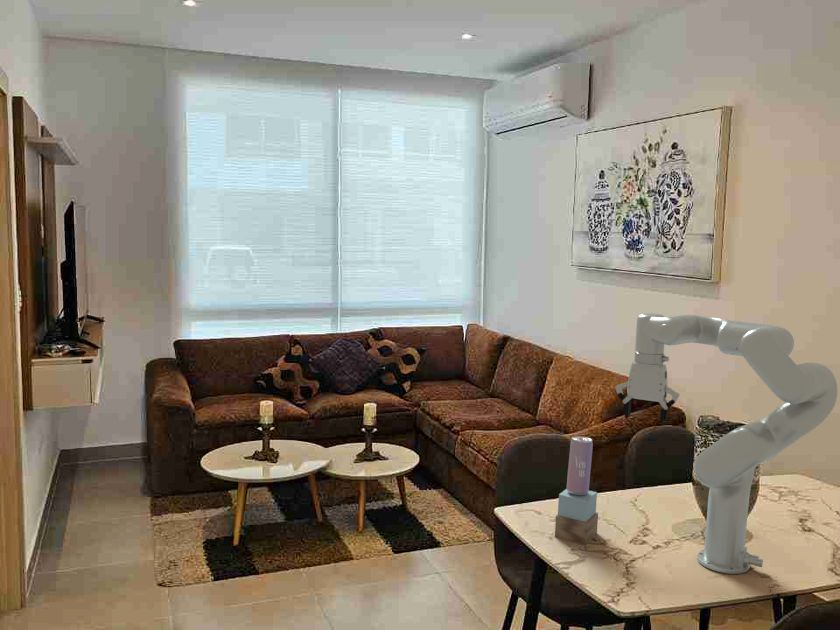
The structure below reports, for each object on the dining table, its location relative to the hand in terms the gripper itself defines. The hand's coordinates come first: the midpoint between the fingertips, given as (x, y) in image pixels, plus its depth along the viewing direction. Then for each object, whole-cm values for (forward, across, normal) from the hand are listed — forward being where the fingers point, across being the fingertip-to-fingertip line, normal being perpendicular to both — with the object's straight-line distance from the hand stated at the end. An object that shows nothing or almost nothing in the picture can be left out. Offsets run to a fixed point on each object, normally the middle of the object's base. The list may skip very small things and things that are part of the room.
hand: (644, 419), depth 212 cm
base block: (+32, +14, +12) cm, 37 cm away
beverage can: (+20, +14, +12) cm, 28 cm away
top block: (+26, +14, +12) cm, 32 cm away
